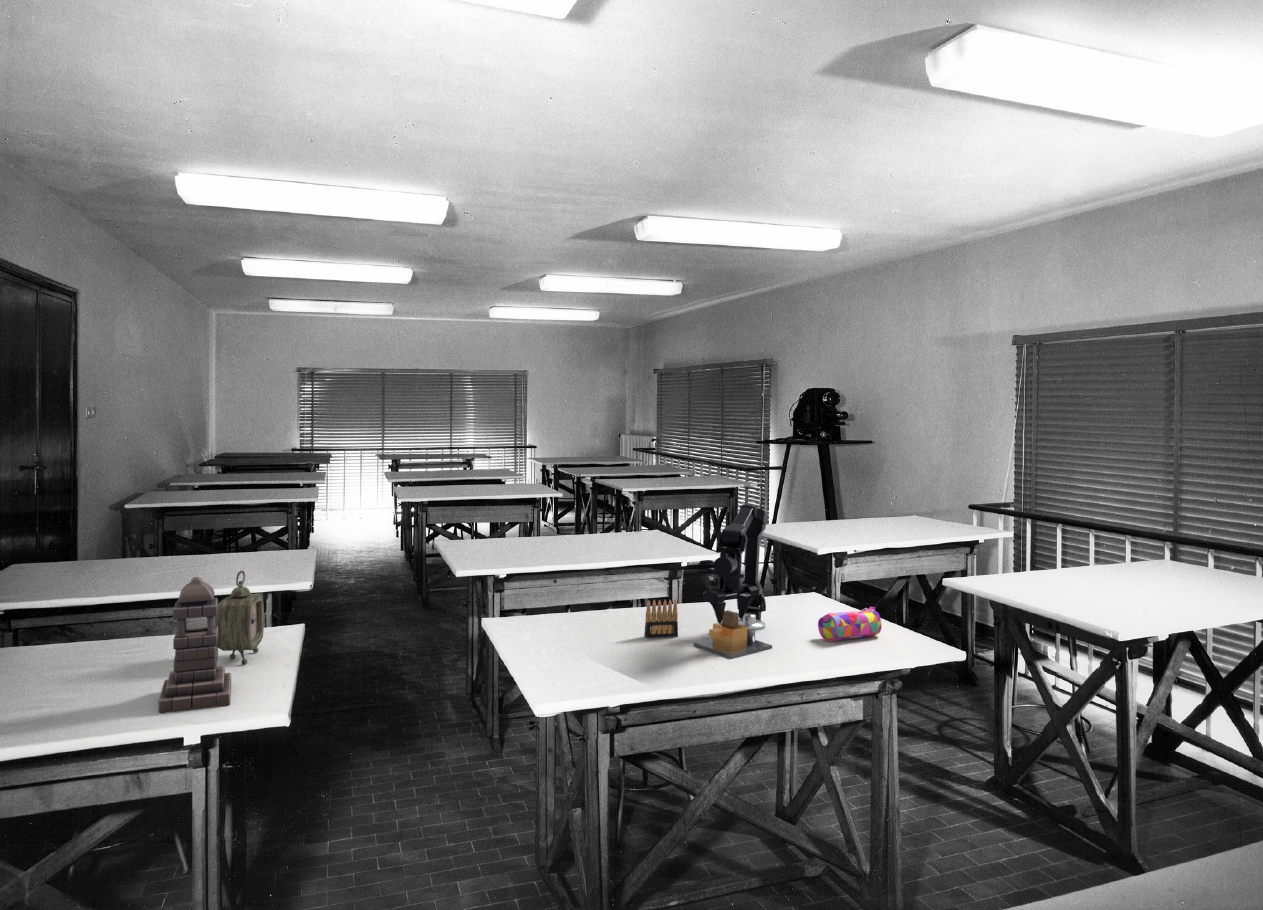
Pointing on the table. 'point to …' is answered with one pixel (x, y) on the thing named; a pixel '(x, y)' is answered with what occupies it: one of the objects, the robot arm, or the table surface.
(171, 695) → the miniature tower
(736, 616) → the wedge
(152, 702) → the table surface
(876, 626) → the pencil case
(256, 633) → the tabletop clock
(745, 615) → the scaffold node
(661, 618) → the ammunition clip
